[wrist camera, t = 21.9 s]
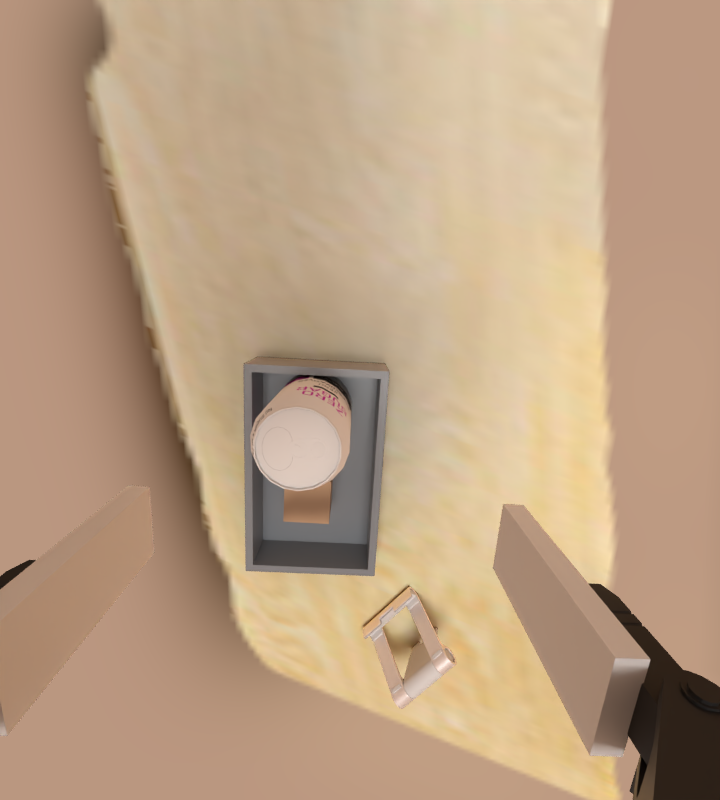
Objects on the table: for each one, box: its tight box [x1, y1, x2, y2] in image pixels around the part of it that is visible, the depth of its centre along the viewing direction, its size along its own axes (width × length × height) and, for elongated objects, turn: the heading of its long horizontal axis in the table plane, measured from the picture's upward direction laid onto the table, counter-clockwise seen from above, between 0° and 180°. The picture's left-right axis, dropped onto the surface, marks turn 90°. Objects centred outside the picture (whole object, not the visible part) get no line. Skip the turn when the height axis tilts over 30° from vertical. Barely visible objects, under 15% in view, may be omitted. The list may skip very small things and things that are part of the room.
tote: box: [244, 357, 389, 576], centre depth 45 cm, size 24×15×6 cm, turn 177°
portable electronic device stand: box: [363, 587, 456, 709], centre depth 50 cm, size 9×8×8 cm
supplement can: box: [250, 375, 352, 491], centre depth 39 cm, size 8×8×15 cm
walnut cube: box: [283, 480, 333, 524], centre depth 46 cm, size 5×5×5 cm
